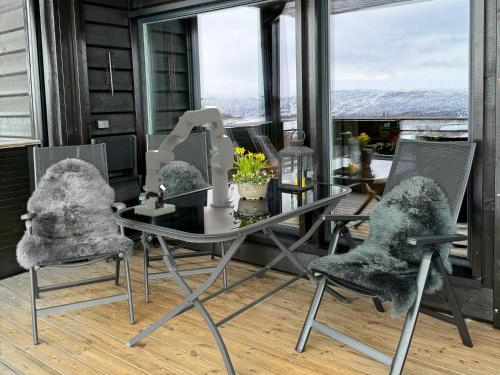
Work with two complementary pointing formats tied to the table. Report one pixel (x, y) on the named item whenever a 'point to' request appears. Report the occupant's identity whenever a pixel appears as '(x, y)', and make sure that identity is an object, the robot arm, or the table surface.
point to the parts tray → (157, 212)
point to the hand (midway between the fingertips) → (154, 202)
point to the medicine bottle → (153, 201)
